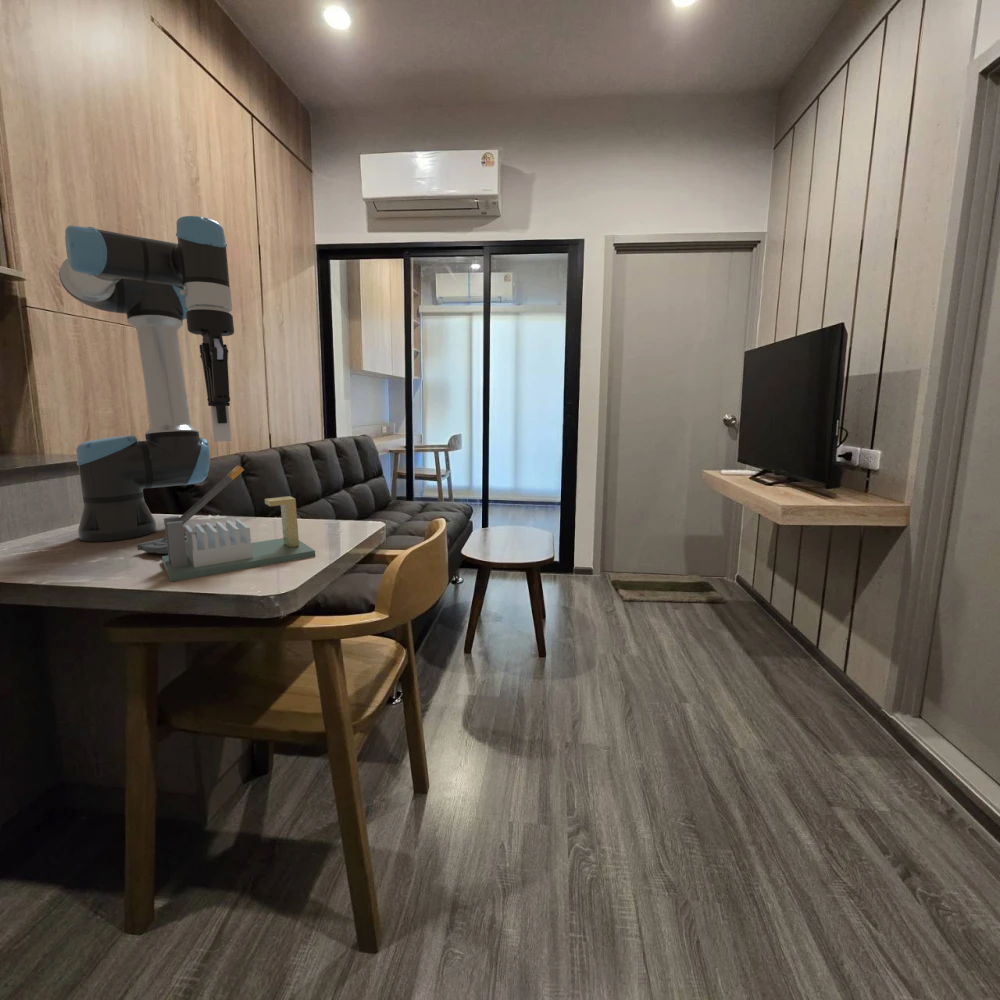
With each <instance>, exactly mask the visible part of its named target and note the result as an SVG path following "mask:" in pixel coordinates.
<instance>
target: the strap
mask: <svg viewBox="0 0 1000 1000" xmlns="http://www.w3.org/2000/svg"><path fill="white" fill-rule="evenodd" d="M244 471H245V469H244V468H243V467H242V466H241V465H239V464H237V465H236V466H235V467H234V468H233V469H232V470H231V471H229V472H228V473H227V474H226V475H225V476H224V477H223V478H222V479H221V480H219V482H217V483H216V484H215V485H214V486H213V487H212V488H211V489H210V490H208V491H207V493H205V494H204V495H203V496H202V497H201V498H200V499H199V500H197V501H196V502H195V503H194V504H193V505H192V506H190V508H189V509H187V511H185V512H184V513H183V514H182V515H181V516H179V519H177V520H176V521H183V526H185V524H186V523H187V522H189V520H191V518H193V517H194V516H195V515H196V514H197V513H198V512H199V511H200V510H201V509H203V507H205V506H207V504H208V503H209V502H211V500H212V499H213V498H215V497H216V496H217V495H218V494H219V493H220V492H221V491H223V489H225V488H226V487H227V486H228V485H229V484H230V483H231V482H233V481H234V480H235V479H236V478H237V477H238V476H239V475H241V474H242V473H243V472H244ZM176 521H175V522H176Z"/></svg>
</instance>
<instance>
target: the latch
mask: <svg viewBox="0 0 1000 1000" xmlns="http://www.w3.org/2000/svg"><path fill="white" fill-rule="evenodd" d="M296 500H297V499H296V498H294V497H293V496H290V495H289V496H287V495H286V496H279V497H270V498H268V497H267V498H264V504H265V505H267V506H269V507H277V506H280V512H281V513H280V515H281V526H282V527H281V529H282V538H283V540H284V544H285V545H287V546H288V547H295V546H299V541H300V539H299V527H298V515H297V501H296Z"/></svg>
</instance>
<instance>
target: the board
mask: <svg viewBox="0 0 1000 1000" xmlns="http://www.w3.org/2000/svg"><path fill="white" fill-rule="evenodd" d="M179 518H180V516H179V515H177V516H170V517H163V522H164V523H163V525H164V532H165V538H166V541H167V549H168V554H167V555H162V556H161V560H162V564H163V567H164V569H165V572H166V573H167V576H168V577H169V581H170V582H176V581H177V582H178V581H183V580H189V579H195V578H200V577H205V576H211V575H216V574H222V573H228V572H234V571H235V572H236V571H240V570H246V569H250V568H252V569H253V568H256V567H262V566H263V567H264V566H268V565H274V564H280V563H285V562H290V561H297V560H300V559H301V560H302V559H306V558H313V557H312V556H314V557H316V550H315V549H314V548H312V547H310V546H308V545H307V543H304V542H303V541H301V540H299V546H295V547H288V546H287V545H285V544H284V540H283V537H281V538H276V539H275V538H274V539H269V540H261V541H256V542H252V539H251V538H252V537H251V528H250V527H249V526H248V525H247V524H246V523H244V522H243V521H242V520H241V519H239V518H236V519H235V520H234V521H235V524H234V523H233V522H232V521H231V520H229V519H228V520H225V525H224V524H222V522H220V521H215V526H216V529H217V530H216V529H215V528H214V527H213V526H214V525H212V524H211V523H210V522H206V523H205V525H206V527H205V528H206V531H207V533H206V531H205V530H204V529H203V528H202V527H201V524H200V523H196V524H194V525H195V531H196V534H195V533H194V532H193V531H194V530H193V529H192V527H190V526H189V525H183V521H176V520H177V519H179ZM175 521H176V522H175ZM184 533H186V541H185V536H184ZM196 535H197V539H196ZM185 542H186V545H185ZM186 551H187V552H186Z"/></svg>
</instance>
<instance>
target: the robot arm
mask: <svg viewBox="0 0 1000 1000" xmlns="http://www.w3.org/2000/svg"><path fill="white" fill-rule="evenodd" d="M64 232H65V235H64V241H65V243H64V244H65V250H66V256H67V258H66V259H65V260H64V261H63V262H62V263H61V266H60V267H59V272H58V276H59V282H60V284H61V285H62V287H63V289H64V290H65V291H66V292H67V294H69V295H70V296H71V297H72V298H74V299H75V300H77V301H78V302H80V303H82V304H84V305H85V306H89V307H91V308H94V309H97V310H100V311H104V312H108V313H115V314H124V315H126V318H127V323H128V324H129V325H130V326H131V327H133V328H135V330H136V333H137V334H136V335H137V341H138V347H139V348H138V349H139V355H140V360H141V369H142V373H143V374H142V375H143V381H144V386H145V387H144V388H145V393H146V400H147V408H148V414H149V415H148V416H149V420H150V422H149V423H150V428H149V429H147V431H146V432H145V433H144V436H145V440H138V438H137V437H136V436H135V435H121V436H113V437H105V438H100V439H99V438H98V439H93V440H87V441H85V442H81V443H80V444H79V445H78V446H77V447H76V465H77V466H78V472H79V479H80V481H79V482H80V486H81V488H80V489H81V492H82V493H81V496H82V501H83V509H82V512H81V513H82V514H81V517H80V521H79V525H78V529H77V532H78V539H79V540H80V541H81V542H95V543H96V542H113V541H123V540H126V539H127V540H128V539H133V538H139V537H144V536H147V535H149V534H153V533H155V532H156V531H157V524H156V523H157V522H156V520H155V518H154V516H153V514H152V512H151V511H150V508H149V507H148V505H147V503H146V502H145V501H146V500H145V498H144V489H154V488H165V487H175V486H176V487H177V486H187V485H193V484H200V483H202V482H203V481H205V480H206V478H207V477H208V475H209V471H210V462H211V453H210V452H211V451H210V446H209V442H208V440H207V439H206V438H204V437H200V431H199V430H198V429H197V428H195V427H194V426H193V425H192V423H191V422H192V421H191V418H190V410H189V409H190V408H189V403H188V396H187V390H186V383H185V381H186V380H185V376H184V369H183V362H182V356H181V355H182V353H181V348H180V347H181V346H180V342H179V341H180V339H179V334H178V331H179V330H180V329H181V328H182V327H183V326H184V320H186V325H187V326H186V327H187V331H188V332H189V333H190V334H193V335H197V336H198V335H201V336H202V342H201V344H199V354H200V358H201V363H202V369H203V377H204V382H205V389H206V394H207V395H206V396H207V406H209V407H210V413H211V414H210V415H211V424H212V432H213V433H212V434H213V441H214V442H215V443H216V442H232V433H231V424H230V422H231V421H230V411H229V407H230V401H231V397H230V381H229V364H228V361H229V360H228V359H229V358H228V357H229V349H228V346H227V344H224V340H223V337H229V336H232V335H234V333H235V327H234V316H233V315H232V314H231V312H232V311H233V303H232V292H231V286H230V275H229V264H228V253H227V252H228V251H227V248H228V245H227V243H226V242H227V241H226V236H225V230H224V228H223V226H222V225H221V224H220V223H218V222H217V221H216V220H213V219H211V218H208V217H203V216H195V215H184V216H181V217H179V218H178V219H177V220H176V233H175V236H176V237H177V243H176V242H171V241H164V240H158V239H153V238H147V237H141V236H135V235H130V234H123V233H120V232H114V231H109V230H102V229H99V228H95V227H94V226H93V227H91V226H79V225H69V226H67V227H66V228H65V230H64Z"/></svg>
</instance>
